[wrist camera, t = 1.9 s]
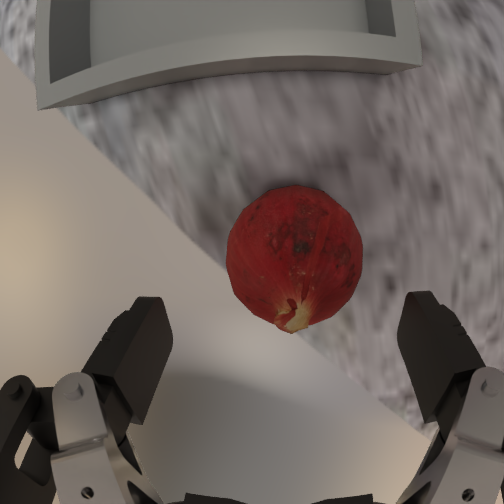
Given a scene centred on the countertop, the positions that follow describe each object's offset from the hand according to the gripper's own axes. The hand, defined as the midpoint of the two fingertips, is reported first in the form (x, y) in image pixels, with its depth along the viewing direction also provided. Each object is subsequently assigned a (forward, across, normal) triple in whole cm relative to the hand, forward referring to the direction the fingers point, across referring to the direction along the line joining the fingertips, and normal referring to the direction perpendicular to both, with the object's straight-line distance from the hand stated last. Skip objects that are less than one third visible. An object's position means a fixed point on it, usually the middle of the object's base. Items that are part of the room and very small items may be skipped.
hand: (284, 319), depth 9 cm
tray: (+8, +2, -16) cm, 18 cm away
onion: (+8, 0, 0) cm, 8 cm away
